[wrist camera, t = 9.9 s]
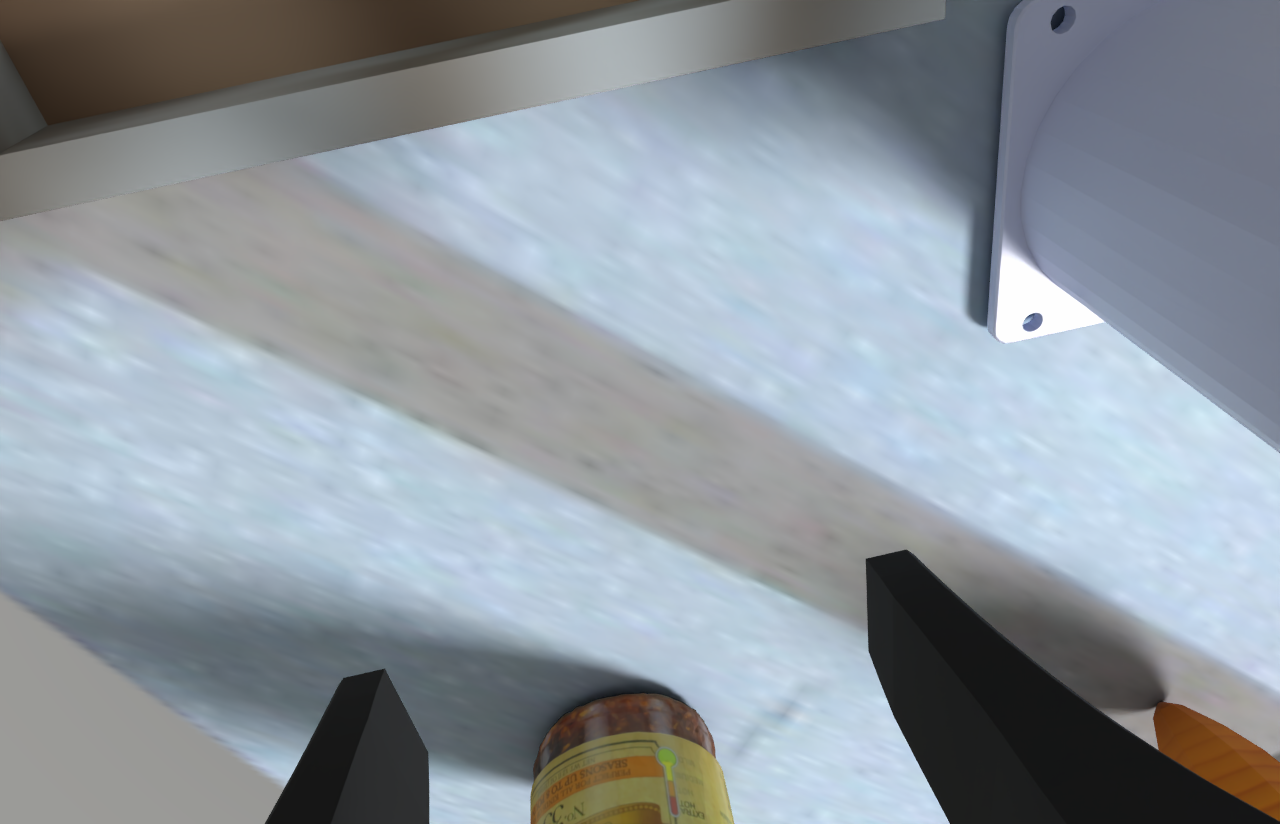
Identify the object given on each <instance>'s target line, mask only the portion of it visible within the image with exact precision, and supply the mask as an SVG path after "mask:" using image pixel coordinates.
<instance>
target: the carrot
mask: <svg viewBox="0 0 1280 824" xmlns="http://www.w3.org/2000/svg"><path fill="white" fill-rule="evenodd" d="M1153 720H1154V726H1155V731H1156V737H1157V743H1158V749H1159V751H1160V752H1162V753H1163V754H1165V755H1167V756H1168V757H1170V758H1171V759H1173V760H1175V761H1176V762H1178V763H1179V764H1181V765H1183V766H1184V767H1186V768H1188V769H1189V770H1191V771H1192V772H1194V773H1196V774H1197V775H1199V776H1200V777H1202V778H1204V779H1205V780H1207V781H1209V782H1210V783H1212V784H1214V785H1216V786H1218V787H1219V788H1221V789H1223V790H1225V791H1227V792H1228V793H1230V794H1232V795H1234V796H1235V797H1237V798H1239V799H1241V800H1243V801H1244V802H1246V803H1248V804H1250V805H1252V806H1253V807H1255V808H1257V809H1259V810H1260V811H1262V812H1264V813H1266V814H1268V815H1269V816H1271V817H1273V818H1275V819H1277V820H1278V821H1280V762H1278V761H1277V760H1276V759H1275V758H1273V757H1272V756H1271V755H1270V754H1268V753H1267V752H1266V751H1265V750H1263V749H1261V748H1260V747H1258V746H1257V745H1255V744H1253V743H1252V742H1250V741H1249V740H1247V739H1245V738H1244V737H1242V736H1240V735H1239V734H1237V733H1236V732H1234V731H1232V730H1231V729H1229V728H1228V727H1226V726H1224V725H1222V724H1220V723H1218V722H1216V721H1214V720H1212V719H1210V718H1208V717H1206V716H1204V715H1202V714H1200V713H1198V712H1196V711H1193V710H1191V709H1189V708H1187V707H1185V706H1183V705H1179V704H1173V703H1167V702H1160V703H1158V704H1157V706H1156V710H1155V713H1154V717H1153Z"/></svg>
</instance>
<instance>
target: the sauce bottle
mask: <svg viewBox="0 0 1280 824" xmlns="http://www.w3.org/2000/svg"><path fill="white" fill-rule="evenodd" d="M533 772H534V783H533V786H532V791H531V824H734V820H733V816H732V811H731V806H730V802H729V797H728V793H727V788H726V784H725V779H724V775H723V771H722V769H721V767H720V765H719V763H718V762H717V760H716V756H715V746H714V741H713V738H712V735H711V734H710V732H709V731H708V728H707V726H706V724H705V723H704V720H703V719H702V718H701V717H700V715H699V714H698V713H697V712H696V710H694V709H691V708H690V707H688V706H687V705H686V704H684V703H682V702H680V701H677V700H674V699H672V698H670V697H668V696H665V695H661V694H653V693H652V694H646V693H640V694H622V695H618V696H613V697H606V698H601V699H598V700H594V701H592V702H590V703H587V704H586V705H584V706H578V707H576V708H575V709H574V710H573V711H572V712H569V713H566V714H564V715H563V716H562V717H561V718H560V719H559V720H558V722H557V723H556V724H554V726H553V727H552V728H551V729H550V731H549V732H548V733H547V735H546V737H545V738H544V740H543V743H542V744H541V745H540V749H539V753H538V756H537V759H536V760H535V763H534V768H533Z"/></svg>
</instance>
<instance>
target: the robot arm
mask: <svg viewBox="0 0 1280 824" xmlns="http://www.w3.org/2000/svg"><path fill="white" fill-rule="evenodd" d="M1061 7H1064V9H1065V16H1064V19H1063V22H1062V23H1061V24H1060V26H1059V27H1058V28H1056V29H1054V30H1052V29H1051V19H1052V16H1053V14H1054V13H1055V12H1056V11H1057V10H1058V9H1059V8H1061ZM1032 313H1035V314H1034V317H1033V318H1032V320H1031V321H1030V322H1028V323H1026V324H1024V325H1022V324H1023V322H1024V319H1025V318H1026V317H1027V316H1028V315H1030V314H1032ZM1103 322H1106V323H1107V324H1109V325H1110V326H1111V327H1113V328H1114V329H1115V330H1117V331H1118V332H1119V333H1121V334H1122V335H1123V336H1125V337H1126V338H1127V339H1129V340H1130V341H1131V342H1133V343H1134V344H1135V345H1137V346H1138V347H1139V348H1141V349H1142V350H1143V351H1145V352H1146V353H1147V354H1149V355H1150V356H1151V357H1153V358H1154V359H1155V360H1157V361H1158V362H1159V363H1161V364H1162V365H1163V366H1165V367H1166V368H1167V369H1169V370H1170V371H1171V372H1173V373H1174V374H1175V375H1177V376H1178V377H1179V378H1181V379H1182V380H1183V381H1185V382H1186V383H1187V384H1189V385H1190V386H1191V387H1193V388H1194V389H1195V390H1197V391H1198V392H1199V393H1201V394H1202V395H1203V396H1205V397H1206V398H1207V399H1209V400H1210V401H1211V402H1213V403H1214V404H1215V405H1217V406H1218V407H1219V408H1221V409H1222V410H1223V411H1224V412H1226V413H1227V414H1228V415H1230V416H1231V417H1232V418H1234V419H1235V420H1236V421H1238V422H1239V423H1240V424H1242V425H1243V426H1244V427H1246V428H1247V429H1248V430H1250V431H1251V432H1252V433H1254V434H1255V435H1256V436H1258V437H1259V438H1260V439H1262V440H1263V441H1264V442H1266V443H1267V444H1268V445H1270V446H1271V447H1272V448H1274V449H1275V450H1276V451H1278V452H1279V453H1280V0H1023V1H1021V2H1020V3H1019V4H1018V5H1017V6H1016V7H1015V8H1014V10H1013V12H1012V13H1011V15H1010V17H1009V21H1008V25H1007V34H1006V49H1005V64H1004V79H1003V94H1002V109H1001V124H1000V139H999V154H998V169H997V184H996V199H995V214H994V229H993V244H992V259H991V274H990V289H989V304H988V319H987V327H988V331H989V333H990V334H991V335H992V336H993V337H994V338H995V339H996V340H997V341H999V342H1001V343H1014V342H1018V341H1023V340H1027V339H1032V338H1036V337H1040V336H1045V335H1049V334H1054V333H1058V332H1063V331H1067V330H1072V329H1076V328H1081V327H1085V326H1090V325H1094V324H1099V323H1103ZM866 579H867V613H868V647H869V653H870V656H871V659H872V661H873V664H874V667H875V669H876V672H877V674H878V677H879V680H880V682H881V685H882V688H883V690H884V693H885V695H886V698H887V700H888V703H889V705H890V708H891V710H892V713H893V715H894V717H895V719H896V721H897V723H898V725H899V727H900V729H901V731H902V733H903V735H904V737H905V739H906V741H907V742H908V744H909V746H910V748H911V750H912V752H913V754H914V756H915V758H916V760H917V762H918V764H919V766H920V767H921V769H922V771H923V773H924V775H925V777H926V779H927V781H928V783H929V785H930V787H931V788H932V790H933V792H934V794H935V796H936V798H937V800H938V802H939V804H940V806H941V807H942V809H943V811H944V813H945V815H946V817H947V819H948V821H949V823H950V824H1280V821H1278V820H1277V819H1275V818H1273V817H1271V816H1269V815H1268V814H1266V813H1264V812H1262V811H1260V810H1259V809H1257V808H1255V807H1253V806H1252V805H1250V804H1248V803H1246V802H1244V801H1243V800H1241V799H1239V798H1237V797H1235V796H1234V795H1232V794H1230V793H1228V792H1227V791H1225V790H1223V789H1221V788H1219V787H1218V786H1216V785H1214V784H1212V783H1210V782H1209V781H1207V780H1205V779H1204V778H1202V777H1200V776H1199V775H1197V774H1196V773H1194V772H1192V771H1191V770H1189V769H1188V768H1186V767H1184V766H1183V765H1181V764H1179V763H1178V762H1176V761H1175V760H1173V759H1171V758H1170V757H1168V756H1167V755H1165V754H1163V753H1162V752H1160V751H1159V750H1157V749H1156V748H1154V747H1153V746H1151V745H1149V744H1148V743H1146V742H1145V741H1143V740H1142V739H1140V738H1139V737H1137V736H1136V735H1134V734H1133V733H1131V732H1130V731H1128V730H1127V729H1125V728H1124V727H1122V726H1121V725H1119V724H1118V723H1117V722H1115V721H1114V720H1112V719H1111V718H1109V717H1108V716H1106V715H1105V714H1104V713H1102V712H1101V711H1099V710H1098V709H1097V708H1095V707H1094V706H1092V705H1091V704H1090V703H1088V702H1087V701H1085V700H1084V699H1083V698H1081V697H1080V696H1079V695H1077V694H1076V693H1075V692H1073V691H1072V690H1071V689H1069V688H1068V687H1067V686H1065V685H1064V684H1063V683H1061V682H1060V681H1059V680H1057V679H1056V678H1055V677H1054V676H1052V675H1051V674H1050V673H1048V672H1047V671H1046V670H1045V669H1043V668H1042V667H1041V666H1040V665H1038V664H1037V663H1036V662H1034V661H1033V660H1032V659H1031V658H1030V657H1028V656H1027V655H1026V654H1025V653H1023V652H1022V651H1021V650H1020V649H1019V648H1017V647H1016V646H1015V645H1014V644H1013V643H1011V642H1010V641H1009V640H1008V639H1007V638H1005V637H1004V636H1003V635H1002V634H1000V633H999V632H998V631H997V630H996V629H994V628H993V627H992V626H991V625H990V624H989V623H988V622H986V621H985V620H984V619H983V618H982V617H981V616H979V615H978V614H977V613H976V612H975V611H974V610H973V609H972V608H970V607H969V606H968V605H967V604H966V603H965V602H964V601H963V600H962V599H960V598H959V597H958V596H957V595H956V594H955V593H954V592H953V591H952V590H951V589H949V588H948V587H947V586H946V585H945V584H944V583H943V582H942V581H941V580H940V579H939V578H938V577H937V576H936V575H935V574H933V573H932V572H931V571H930V570H929V569H928V568H927V567H926V566H925V565H924V564H923V563H922V562H921V561H920V560H919V559H918V558H917V557H916V556H915V555H914V554H912V553H911V552H909V551H908V550H902V551H898V552H894V553H889V554H885V555H881V556H876V557H872V558H867V559H866ZM265 824H429V764H428V751H427V749H426V748H425V746H424V744H423V742H422V740H421V738H420V736H419V734H418V732H417V730H416V728H415V726H414V724H413V722H412V721H411V719H410V717H409V715H408V713H407V711H406V709H405V707H404V705H403V703H402V701H401V699H400V697H399V695H398V694H397V692H396V690H395V688H394V686H393V684H392V682H391V680H390V678H389V676H388V674H387V672H386V670H385V669H382V670H377V671H373V672H368V673H364V674H360V675H355V676H351V677H346V678H343V680H342V681H341V683H340V684H339V686H338V687H337V689H336V691H335V693H334V695H333V697H332V699H331V701H330V703H329V705H328V707H327V709H326V711H325V713H324V715H323V717H322V719H321V721H320V722H319V724H318V726H317V728H316V730H315V732H314V734H313V736H312V738H311V740H310V742H309V744H308V746H307V748H306V749H305V751H304V753H303V755H302V757H301V759H300V761H299V763H298V765H297V766H296V768H295V770H294V772H293V774H292V776H291V778H290V779H289V781H288V783H287V785H286V787H285V788H284V790H283V792H282V794H281V796H280V798H279V799H278V801H277V803H276V805H275V806H274V808H273V810H272V812H271V814H270V815H269V817H268V819H267V821H266V822H265Z"/></svg>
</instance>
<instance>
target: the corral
mask: <svg viewBox="0 0 1280 824" xmlns="http://www.w3.org/2000/svg"><path fill="white" fill-rule="evenodd" d="M945 8H946V0H0V221H3V220H8V219H13V218H17V217H22V216H27V215H31V214H36V213H41V212H45V211H50V210H55V209H59V208H64V207H69V206H73V205H78V204H83V203H87V202H92V201H97V200H101V199H106V198H111V197H115V196H120V195H125V194H129V193H134V192H139V191H143V190H148V189H153V188H157V187H162V186H167V185H171V184H176V183H181V182H185V181H190V180H195V179H200V178H204V177H209V176H214V175H218V174H223V173H228V172H232V171H237V170H242V169H246V168H251V167H256V166H260V165H265V164H270V163H274V162H279V161H284V160H288V159H293V158H298V157H302V156H307V155H312V154H316V153H321V152H326V151H330V150H335V149H340V148H344V147H349V146H354V145H358V144H363V143H368V142H372V141H377V140H382V139H387V138H391V137H396V136H401V135H405V134H410V133H415V132H419V131H424V130H429V129H433V128H438V127H443V126H447V125H452V124H457V123H461V122H466V121H471V120H475V119H480V118H485V117H489V116H494V115H499V114H503V113H508V112H513V111H517V110H522V109H527V108H531V107H536V106H541V105H545V104H550V103H555V102H559V101H564V100H569V99H574V98H578V97H583V96H588V95H592V94H597V93H602V92H606V91H611V90H616V89H620V88H625V87H630V86H634V85H639V84H644V83H648V82H653V81H658V80H662V79H667V78H672V77H676V76H681V75H686V74H690V73H695V72H700V71H704V70H709V69H714V68H718V67H723V66H728V65H732V64H737V63H742V62H746V61H751V60H756V59H761V58H765V57H770V56H775V55H779V54H784V53H789V52H793V51H798V50H803V49H807V48H812V47H817V46H821V45H826V44H831V43H835V42H840V41H845V40H849V39H854V38H859V37H863V36H868V35H873V34H877V33H882V32H887V31H891V30H896V29H901V28H905V27H910V26H915V25H919V24H924V23H929V22H933V21H938V20H943V19H945Z"/></svg>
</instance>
